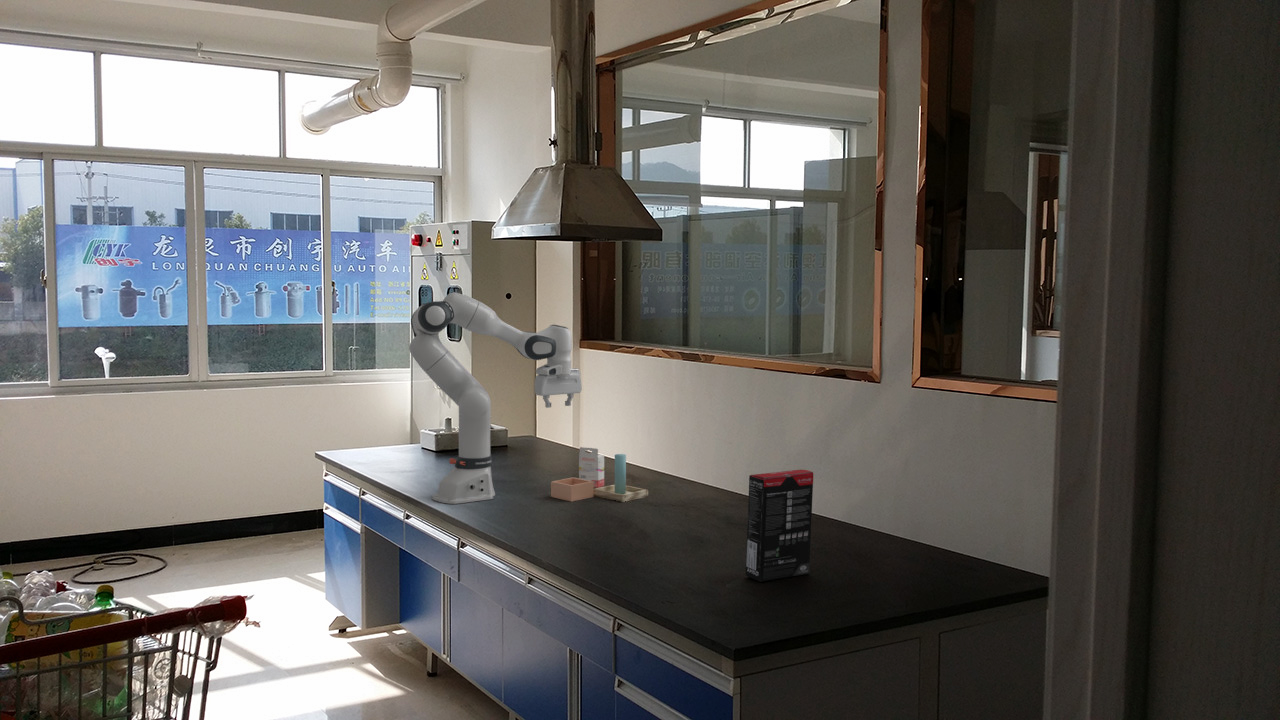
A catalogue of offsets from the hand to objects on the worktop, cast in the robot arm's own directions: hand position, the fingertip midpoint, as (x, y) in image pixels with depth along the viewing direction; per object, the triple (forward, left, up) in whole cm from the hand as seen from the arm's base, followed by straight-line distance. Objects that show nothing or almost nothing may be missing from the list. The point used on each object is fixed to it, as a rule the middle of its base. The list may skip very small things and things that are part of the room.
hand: (558, 406), depth 364 cm
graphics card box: (-33, -124, -30) cm, 132 cm away
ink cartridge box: (+11, -7, -30) cm, 33 cm away
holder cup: (-7, -16, -30) cm, 35 cm away
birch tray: (+6, -27, -30) cm, 41 cm away
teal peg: (+6, -27, -29) cm, 40 cm away
